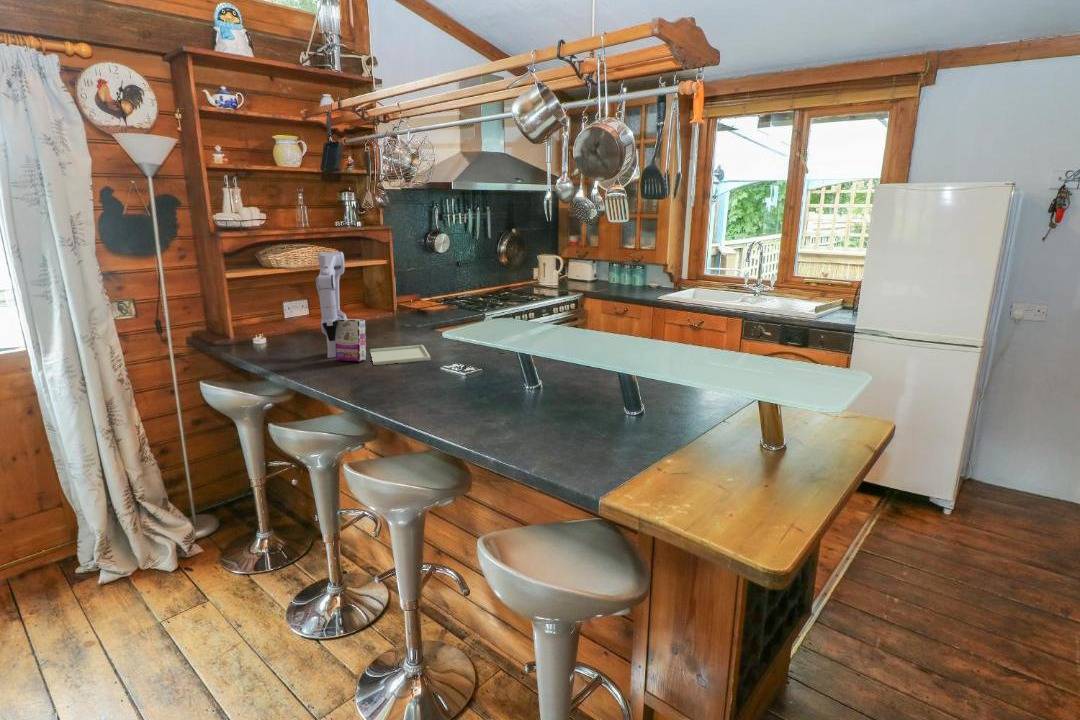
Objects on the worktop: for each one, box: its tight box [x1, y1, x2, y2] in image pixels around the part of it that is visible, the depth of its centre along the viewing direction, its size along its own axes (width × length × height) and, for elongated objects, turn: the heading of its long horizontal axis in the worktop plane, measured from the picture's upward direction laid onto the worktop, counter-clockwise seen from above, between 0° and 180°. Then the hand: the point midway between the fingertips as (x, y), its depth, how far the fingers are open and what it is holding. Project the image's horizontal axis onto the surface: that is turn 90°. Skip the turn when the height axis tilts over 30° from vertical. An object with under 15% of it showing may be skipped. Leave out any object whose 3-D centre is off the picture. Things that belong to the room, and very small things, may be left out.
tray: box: [369, 344, 432, 366], centre depth 241 cm, size 22×22×2 cm
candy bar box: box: [335, 318, 367, 362], centre depth 234 cm, size 11×5×16 cm, turn 73°
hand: (332, 340), depth 231 cm, fingers closed
